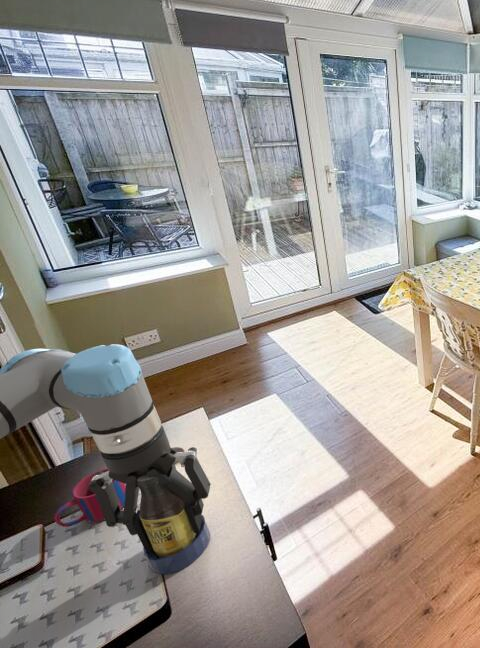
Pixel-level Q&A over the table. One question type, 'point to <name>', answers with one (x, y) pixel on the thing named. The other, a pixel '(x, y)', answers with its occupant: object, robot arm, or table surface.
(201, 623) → the table surface
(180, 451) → the coaster
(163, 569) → the bowl
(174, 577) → the table surface
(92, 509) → the mug
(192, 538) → the sauce bottle
